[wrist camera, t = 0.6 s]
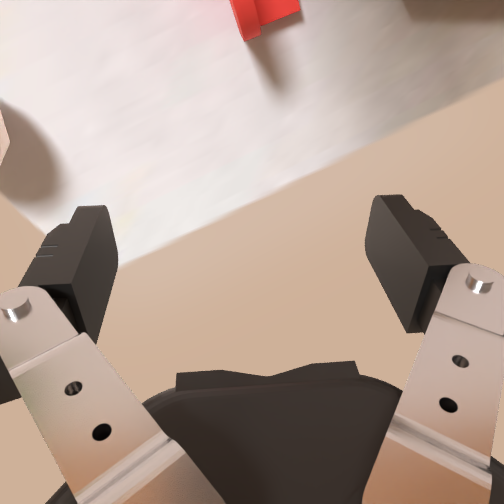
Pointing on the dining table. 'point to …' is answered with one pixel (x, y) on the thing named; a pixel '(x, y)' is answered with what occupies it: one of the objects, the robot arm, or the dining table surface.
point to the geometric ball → (3, 139)
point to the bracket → (260, 14)
